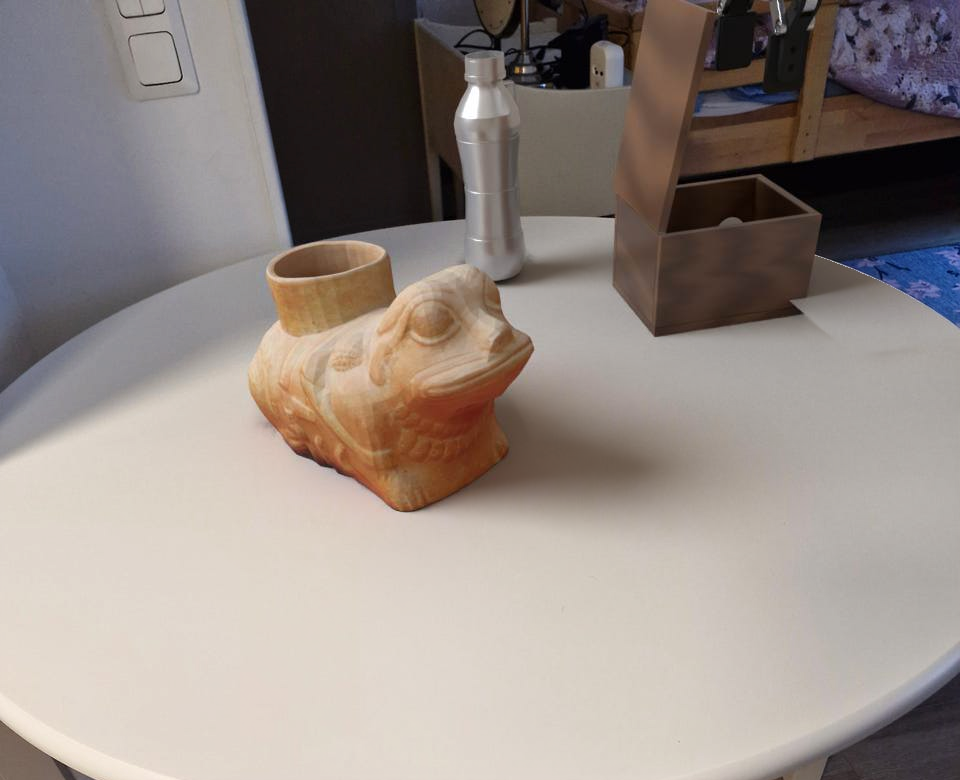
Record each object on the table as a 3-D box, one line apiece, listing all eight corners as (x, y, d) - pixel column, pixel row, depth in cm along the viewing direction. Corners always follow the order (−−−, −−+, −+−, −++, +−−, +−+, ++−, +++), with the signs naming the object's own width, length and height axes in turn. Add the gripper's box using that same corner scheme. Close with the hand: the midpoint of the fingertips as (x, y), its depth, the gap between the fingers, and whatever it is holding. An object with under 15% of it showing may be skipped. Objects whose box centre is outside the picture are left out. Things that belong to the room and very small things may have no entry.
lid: (658, -11, 75) (649, -12, 74) (717, 12, 65) (707, 11, 65) (619, 188, 85) (611, 188, 85) (666, 232, 76) (657, 231, 75)
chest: (747, 265, 92) (760, 173, 86) (803, 313, 83) (822, 214, 77) (612, 285, 91) (615, 193, 85) (654, 336, 82) (661, 237, 76)
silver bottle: (537, 269, 95) (533, 48, 82) (506, 292, 91) (496, 64, 78) (485, 260, 98) (473, 45, 84) (453, 283, 94) (434, 61, 80)
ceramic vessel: (447, 550, 60) (423, 337, 50) (227, 429, 74) (173, 243, 64) (578, 463, 67) (580, 260, 57) (354, 367, 81) (323, 190, 71)
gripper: (901, -211, 57) (849, 94, 69) (781, -202, 70) (754, 55, 81) (790, -198, 56) (757, 109, 68) (689, -191, 69) (676, 67, 81)
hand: (756, 79), depth 75 cm, fingers open, 9 cm apart
